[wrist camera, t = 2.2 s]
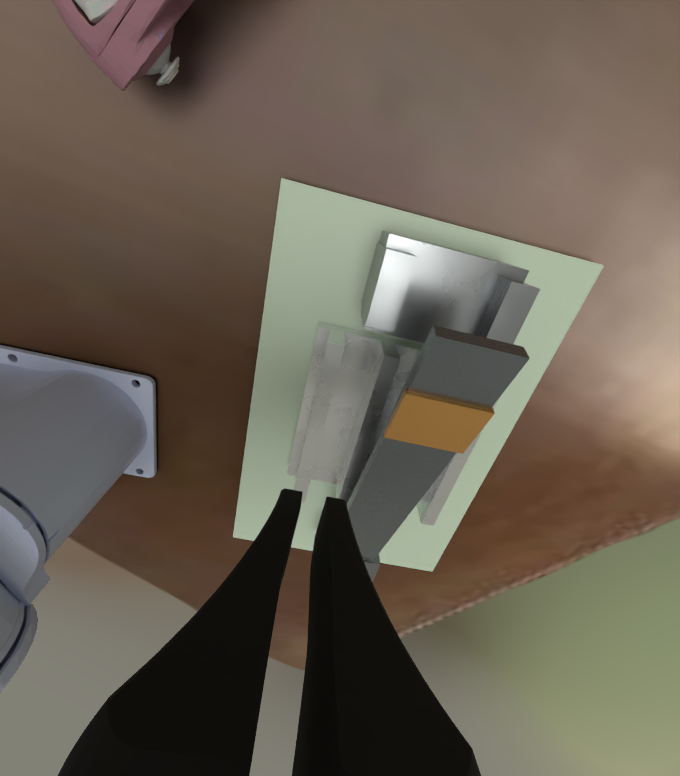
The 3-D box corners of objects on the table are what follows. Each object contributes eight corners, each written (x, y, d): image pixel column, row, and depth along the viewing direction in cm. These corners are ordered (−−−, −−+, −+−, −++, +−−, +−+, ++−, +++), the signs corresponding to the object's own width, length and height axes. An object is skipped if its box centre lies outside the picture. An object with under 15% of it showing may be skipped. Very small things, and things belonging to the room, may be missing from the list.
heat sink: (288, 464, 23) (281, 497, 20) (319, 321, 18) (315, 339, 16) (431, 492, 24) (442, 527, 21) (494, 362, 19) (518, 386, 16)
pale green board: (236, 526, 27) (233, 537, 26) (284, 179, 16) (281, 177, 15) (429, 560, 28) (432, 571, 27) (591, 262, 18) (604, 265, 17)
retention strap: (327, 541, 22) (325, 554, 21) (430, 324, 10) (433, 339, 10) (376, 549, 22) (375, 562, 21) (526, 347, 11) (534, 363, 10)
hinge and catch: (302, 525, 25) (294, 580, 22) (380, 229, 16) (390, 234, 12) (382, 540, 26) (388, 595, 22) (502, 261, 17) (547, 275, 13)
